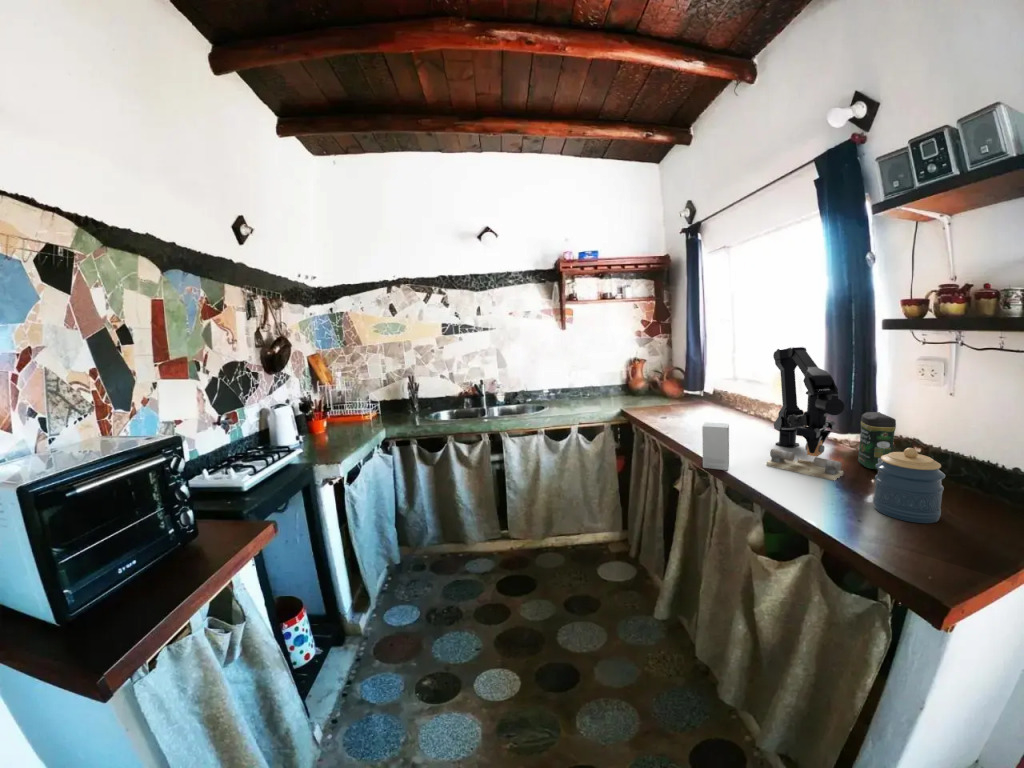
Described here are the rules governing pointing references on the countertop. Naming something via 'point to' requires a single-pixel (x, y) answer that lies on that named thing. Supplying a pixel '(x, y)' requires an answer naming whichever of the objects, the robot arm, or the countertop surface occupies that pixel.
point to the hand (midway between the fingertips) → (814, 451)
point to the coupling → (818, 450)
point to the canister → (909, 487)
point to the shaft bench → (806, 465)
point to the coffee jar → (875, 438)
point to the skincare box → (715, 445)
